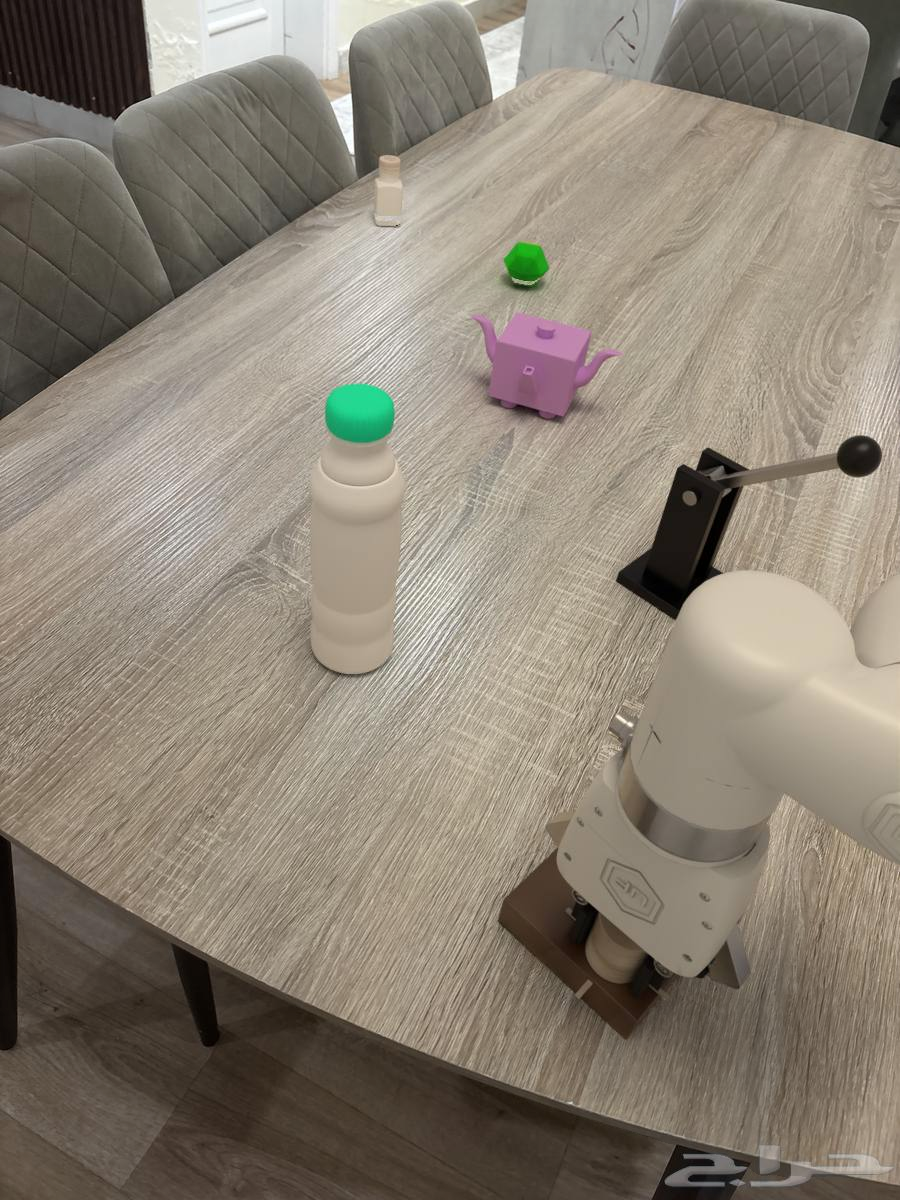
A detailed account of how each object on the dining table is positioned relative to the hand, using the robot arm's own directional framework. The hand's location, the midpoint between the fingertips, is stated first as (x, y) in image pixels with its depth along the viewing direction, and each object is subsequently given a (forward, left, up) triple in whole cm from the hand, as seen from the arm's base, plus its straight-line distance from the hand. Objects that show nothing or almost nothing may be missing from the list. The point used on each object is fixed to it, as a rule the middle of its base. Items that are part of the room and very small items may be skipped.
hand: (616, 951), depth 60 cm
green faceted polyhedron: (+71, -74, -4) cm, 103 cm away
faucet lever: (+13, -36, +12) cm, 40 cm away
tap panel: (+2, -2, -3) cm, 4 cm away
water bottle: (+33, -7, -4) cm, 34 cm away
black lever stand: (+19, -36, -3) cm, 41 cm away
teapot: (+49, -50, -4) cm, 70 cm away
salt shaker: (+97, -71, -4) cm, 120 cm away
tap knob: (0, 0, 0) cm, 0 cm away
